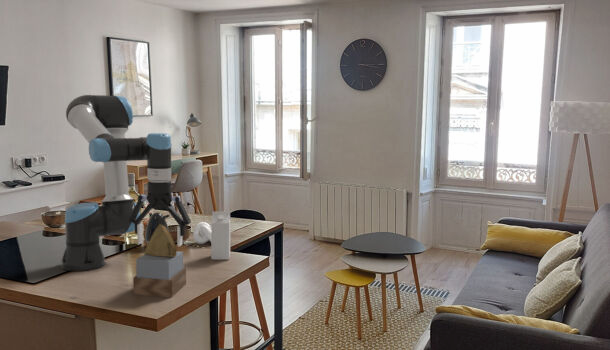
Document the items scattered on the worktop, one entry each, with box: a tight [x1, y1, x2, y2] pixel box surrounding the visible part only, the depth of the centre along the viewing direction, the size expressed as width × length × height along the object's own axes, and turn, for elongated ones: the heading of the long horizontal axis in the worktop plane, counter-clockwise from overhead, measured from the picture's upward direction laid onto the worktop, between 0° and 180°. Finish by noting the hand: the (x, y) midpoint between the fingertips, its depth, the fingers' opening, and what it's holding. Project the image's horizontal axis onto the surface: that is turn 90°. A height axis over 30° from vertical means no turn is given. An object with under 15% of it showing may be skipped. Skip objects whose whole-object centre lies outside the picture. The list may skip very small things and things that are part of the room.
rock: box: [143, 224, 177, 257], centre depth 174 cm, size 11×9×10 cm
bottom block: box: [132, 267, 187, 298], centre depth 176 cm, size 13×13×6 cm
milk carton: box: [210, 211, 231, 261], centre depth 214 cm, size 7×7×19 cm
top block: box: [135, 250, 184, 280], centre depth 175 cm, size 11×12×6 cm
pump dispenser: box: [144, 212, 170, 244], centre depth 228 cm, size 10×10×15 cm
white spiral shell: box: [192, 221, 211, 245], centre depth 237 cm, size 11×12×9 cm
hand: (160, 244), depth 175 cm, fingers open, 13 cm apart
